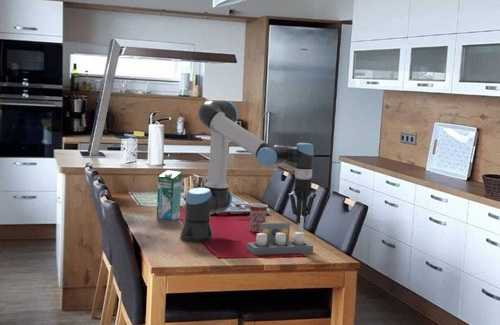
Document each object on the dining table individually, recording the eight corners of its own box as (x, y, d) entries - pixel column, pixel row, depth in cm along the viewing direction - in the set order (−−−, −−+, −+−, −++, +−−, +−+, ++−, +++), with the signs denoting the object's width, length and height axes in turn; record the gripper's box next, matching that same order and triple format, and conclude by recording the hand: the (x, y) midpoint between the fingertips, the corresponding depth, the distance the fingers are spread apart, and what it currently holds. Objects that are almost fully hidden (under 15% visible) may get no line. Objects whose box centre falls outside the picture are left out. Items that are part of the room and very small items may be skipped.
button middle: (277, 246, 293) (278, 235, 292) (273, 243, 297) (274, 232, 296) (287, 245, 294) (287, 234, 294) (283, 243, 299) (283, 232, 298)
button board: (253, 257, 287) (254, 247, 287) (246, 251, 295) (247, 242, 295) (312, 254, 297) (313, 245, 296) (304, 249, 305) (304, 240, 305)
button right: (296, 245, 296) (296, 234, 295) (292, 242, 300) (292, 232, 300) (305, 245, 297) (306, 234, 297) (301, 242, 302) (302, 231, 301)
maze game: (259, 208, 397) (259, 203, 396) (269, 215, 378) (270, 210, 378) (201, 208, 386) (202, 203, 386) (210, 216, 368) (210, 210, 367)
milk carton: (156, 218, 351) (158, 171, 348) (164, 215, 360) (166, 169, 357) (171, 220, 348) (173, 173, 345) (179, 218, 356) (181, 171, 353)
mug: (268, 233, 332) (269, 207, 331) (250, 233, 330) (252, 206, 329) (261, 227, 345) (263, 202, 343) (244, 227, 342) (246, 201, 341)
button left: (258, 246, 290) (259, 235, 289) (254, 244, 294) (255, 233, 293) (268, 246, 291) (268, 235, 291) (264, 243, 295) (265, 232, 295)
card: (259, 249, 300) (261, 223, 298) (259, 249, 301) (260, 223, 299) (288, 248, 304) (290, 223, 303) (287, 248, 305) (289, 222, 304)
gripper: (293, 179, 289) (290, 232, 292) (320, 179, 294) (317, 231, 297) (286, 176, 296) (283, 228, 299) (313, 176, 301) (309, 228, 304)
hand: (300, 230), depth 298 cm, fingers closed
